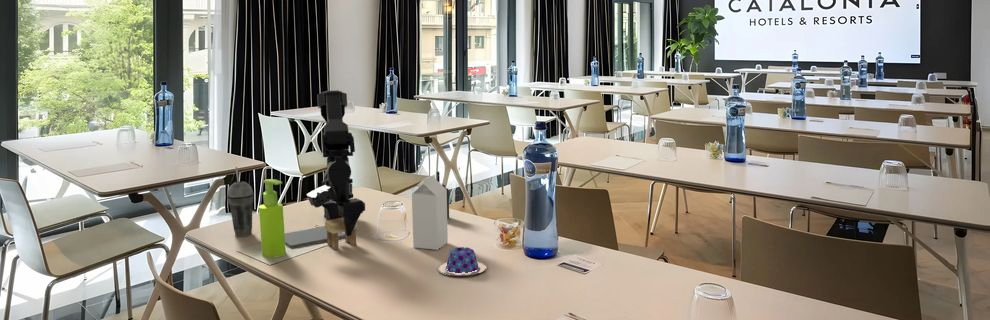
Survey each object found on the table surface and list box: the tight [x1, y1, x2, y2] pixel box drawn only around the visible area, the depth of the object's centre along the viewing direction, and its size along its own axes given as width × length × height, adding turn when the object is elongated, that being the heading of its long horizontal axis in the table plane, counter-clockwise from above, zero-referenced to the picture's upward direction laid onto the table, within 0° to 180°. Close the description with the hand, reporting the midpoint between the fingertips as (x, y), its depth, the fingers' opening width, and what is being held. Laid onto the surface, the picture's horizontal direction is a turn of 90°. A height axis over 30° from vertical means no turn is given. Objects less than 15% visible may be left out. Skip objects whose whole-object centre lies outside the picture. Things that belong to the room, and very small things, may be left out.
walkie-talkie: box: [436, 171, 450, 219], centre depth 214 cm, size 5×3×15 cm
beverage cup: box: [226, 166, 255, 238], centre depth 198 cm, size 7×7×20 cm
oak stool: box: [324, 218, 358, 250], centre depth 189 cm, size 7×5×7 cm
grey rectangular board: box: [284, 225, 345, 249], centre depth 197 cm, size 16×12×1 cm
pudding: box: [437, 246, 488, 276], centre depth 170 cm, size 12×12×5 cm
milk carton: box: [411, 174, 449, 251], centre depth 187 cm, size 7×7×19 cm
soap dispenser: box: [258, 178, 287, 259], centre depth 181 cm, size 6×7×20 cm
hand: (341, 231), depth 189 cm, fingers open, 9 cm apart
